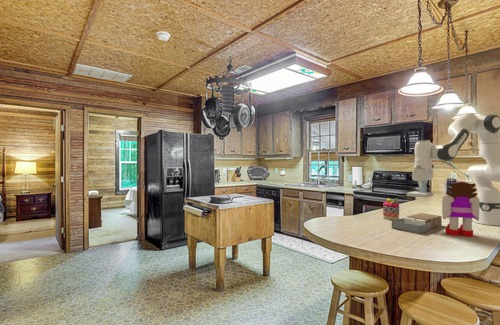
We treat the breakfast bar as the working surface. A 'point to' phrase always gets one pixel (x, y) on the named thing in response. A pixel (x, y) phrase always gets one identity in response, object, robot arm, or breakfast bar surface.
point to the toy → (460, 208)
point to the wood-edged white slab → (428, 219)
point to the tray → (410, 226)
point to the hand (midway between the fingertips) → (422, 187)
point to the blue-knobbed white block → (421, 192)
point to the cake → (391, 210)
